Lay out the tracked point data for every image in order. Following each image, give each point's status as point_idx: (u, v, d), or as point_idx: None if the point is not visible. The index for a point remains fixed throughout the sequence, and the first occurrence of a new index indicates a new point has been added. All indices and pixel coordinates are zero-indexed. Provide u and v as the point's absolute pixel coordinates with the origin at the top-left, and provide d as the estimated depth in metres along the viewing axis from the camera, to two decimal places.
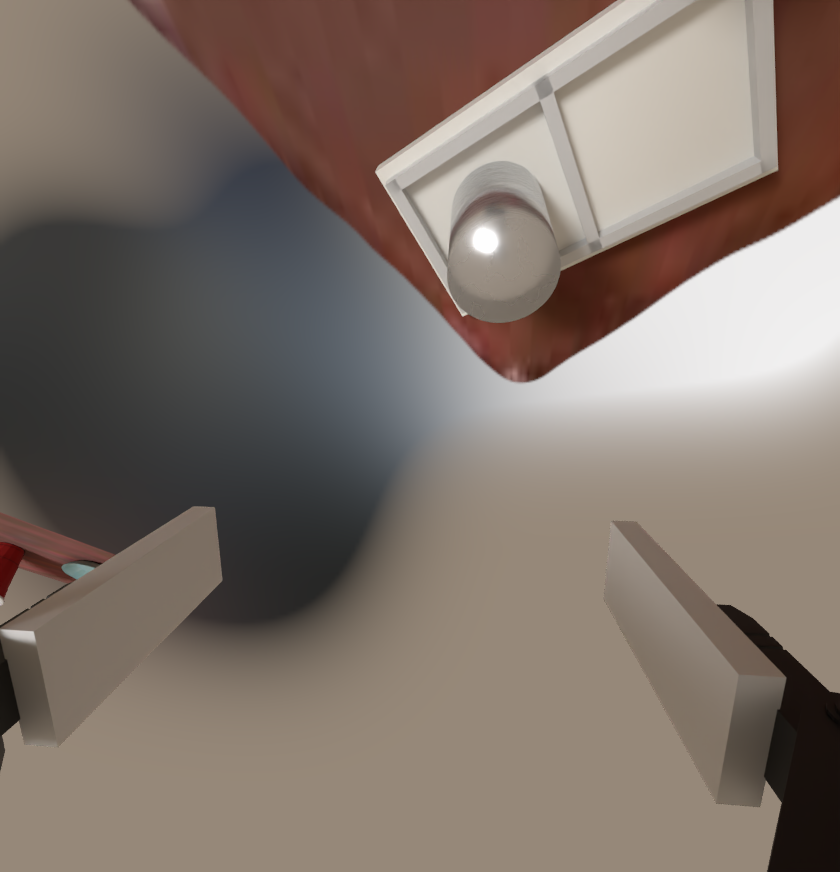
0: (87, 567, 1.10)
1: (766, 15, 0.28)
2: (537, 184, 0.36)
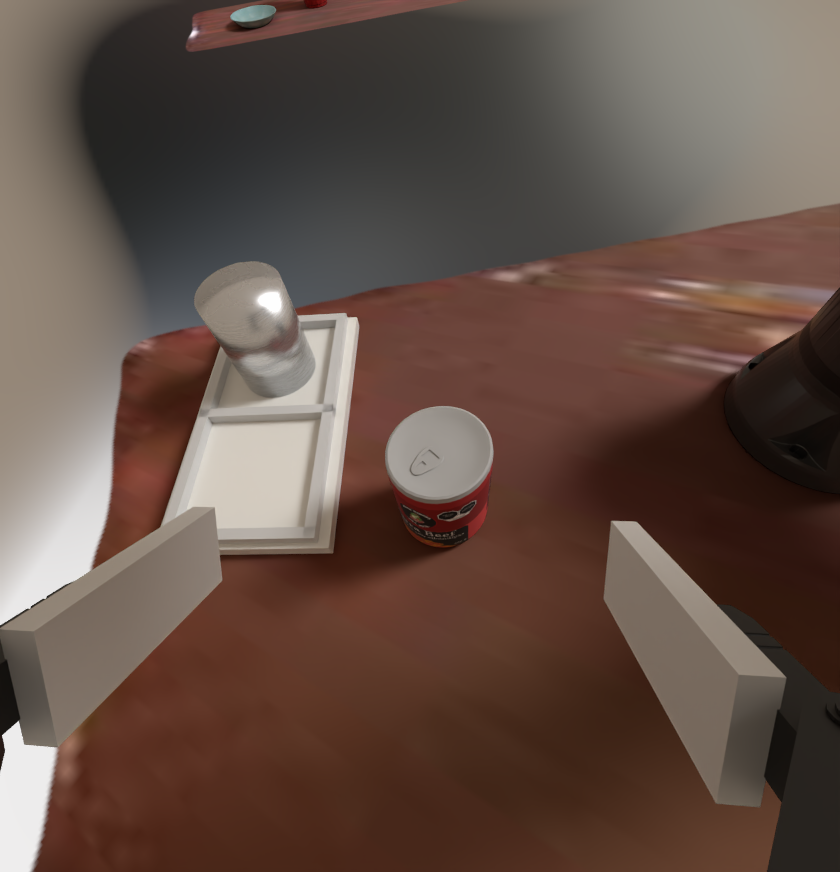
0: None
1: (269, 535, 0.38)
2: (277, 388, 0.47)
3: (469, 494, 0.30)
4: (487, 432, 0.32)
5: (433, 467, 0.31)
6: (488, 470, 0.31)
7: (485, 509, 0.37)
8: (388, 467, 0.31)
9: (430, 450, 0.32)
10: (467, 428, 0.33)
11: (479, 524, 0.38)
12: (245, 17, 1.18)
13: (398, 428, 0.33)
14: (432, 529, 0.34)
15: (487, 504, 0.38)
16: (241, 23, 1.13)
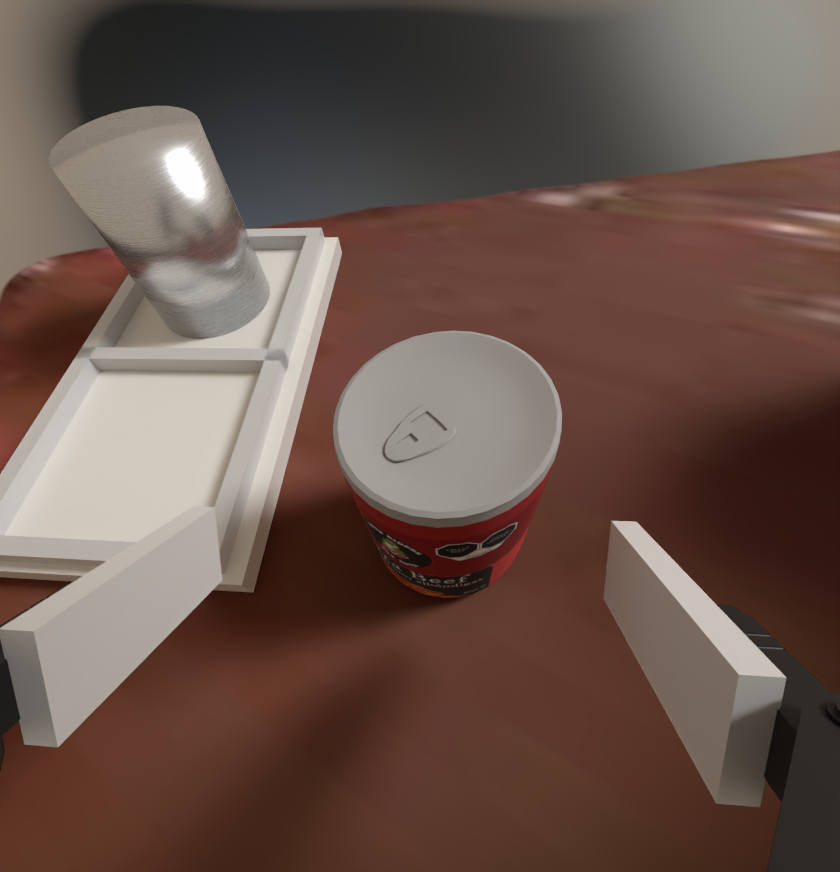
0: None
1: None
2: (202, 323, 0.30)
3: (509, 510, 0.14)
4: (550, 382, 0.15)
5: (432, 448, 0.15)
6: (551, 460, 0.14)
7: (524, 536, 0.20)
8: (337, 440, 0.15)
9: (429, 412, 0.15)
10: (508, 374, 0.16)
11: (510, 561, 0.21)
12: None
13: (367, 367, 0.16)
14: (424, 570, 0.18)
15: None
16: None
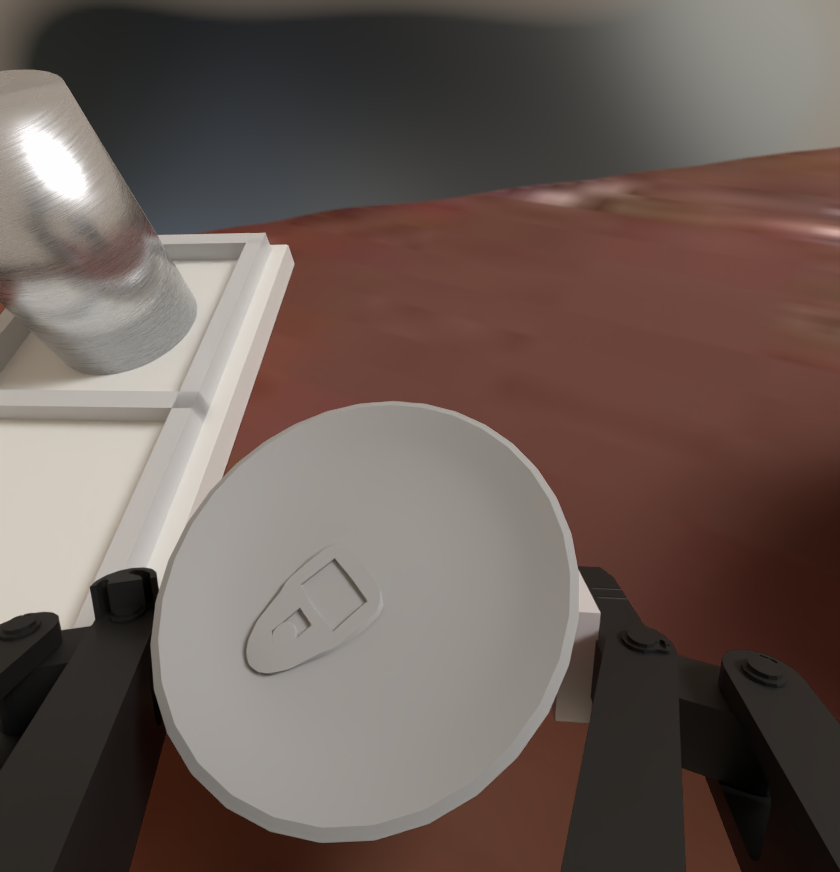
0: None
1: None
2: (98, 356, 0.23)
3: None
4: (555, 507, 0.09)
5: (337, 642, 0.08)
6: None
7: None
8: (157, 631, 0.08)
9: (338, 561, 0.09)
10: (481, 484, 0.09)
11: None
12: None
13: (239, 470, 0.09)
14: None
15: None
16: None
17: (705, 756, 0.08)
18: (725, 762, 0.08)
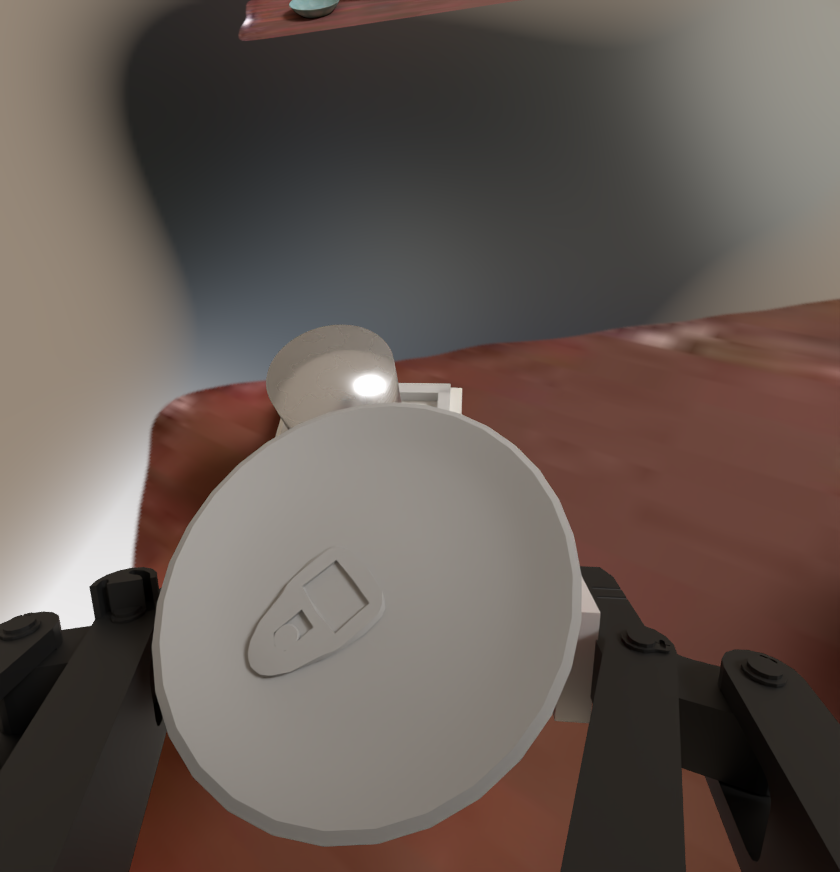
0: None
1: None
2: None
3: None
4: (557, 508, 0.09)
5: (339, 644, 0.08)
6: None
7: None
8: (158, 633, 0.08)
9: (339, 563, 0.08)
10: (483, 486, 0.09)
11: None
12: (304, 5, 1.06)
13: (241, 471, 0.09)
14: None
15: None
16: (301, 12, 1.01)
17: (705, 756, 0.08)
18: (725, 762, 0.08)
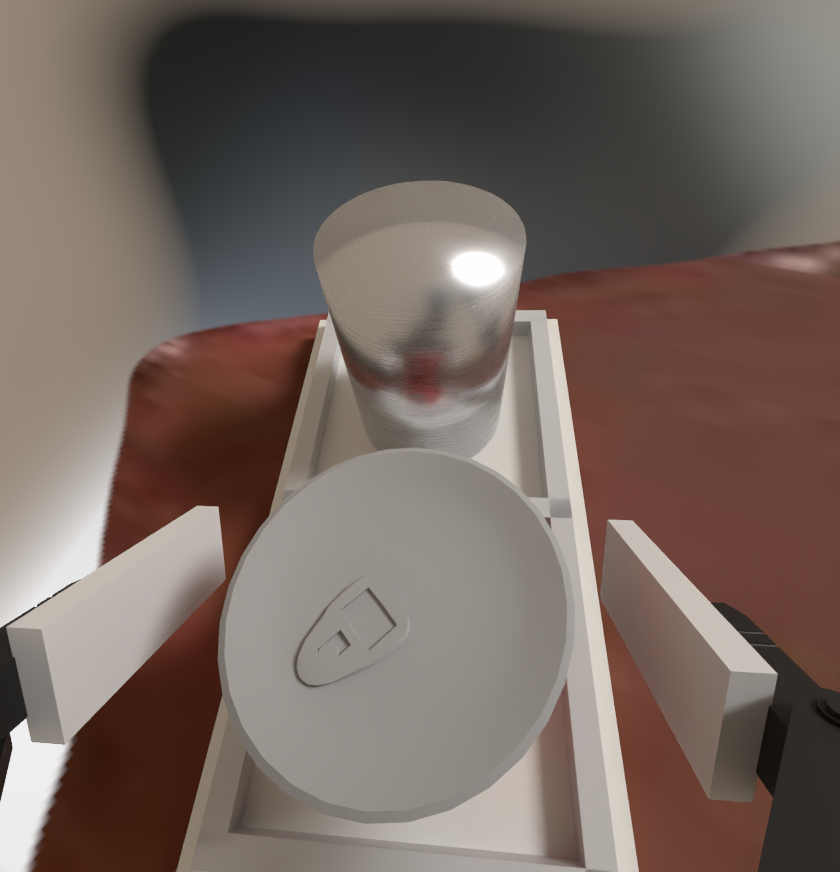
0: None
1: None
2: None
3: None
4: (555, 546, 0.10)
5: (372, 660, 0.09)
6: None
7: None
8: (222, 648, 0.09)
9: (371, 590, 0.10)
10: (492, 524, 0.11)
11: None
12: None
13: (285, 508, 0.11)
14: None
15: None
16: None
17: None
18: None
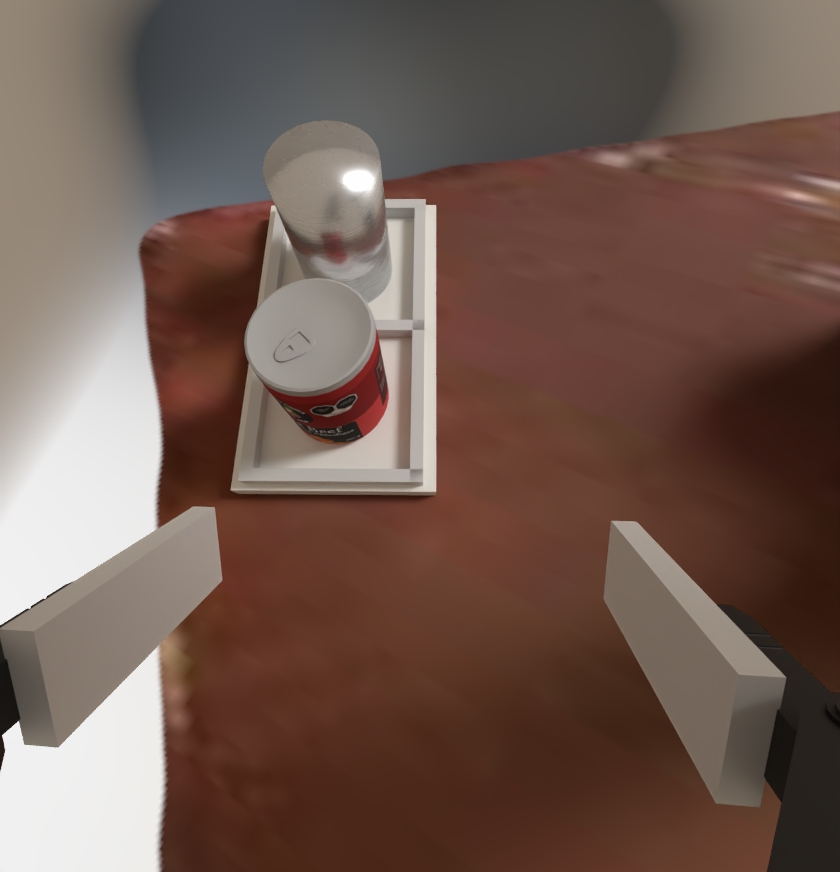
0: None
1: (370, 477, 0.34)
2: None
3: (341, 386, 0.26)
4: (369, 313, 0.27)
5: (301, 353, 0.26)
6: (366, 359, 0.26)
7: (379, 404, 0.33)
8: (246, 350, 0.26)
9: (300, 332, 0.27)
10: (348, 307, 0.27)
11: (374, 420, 0.34)
12: None
13: (263, 303, 0.27)
14: (312, 424, 0.31)
15: (383, 399, 0.34)
16: None
17: None
18: None
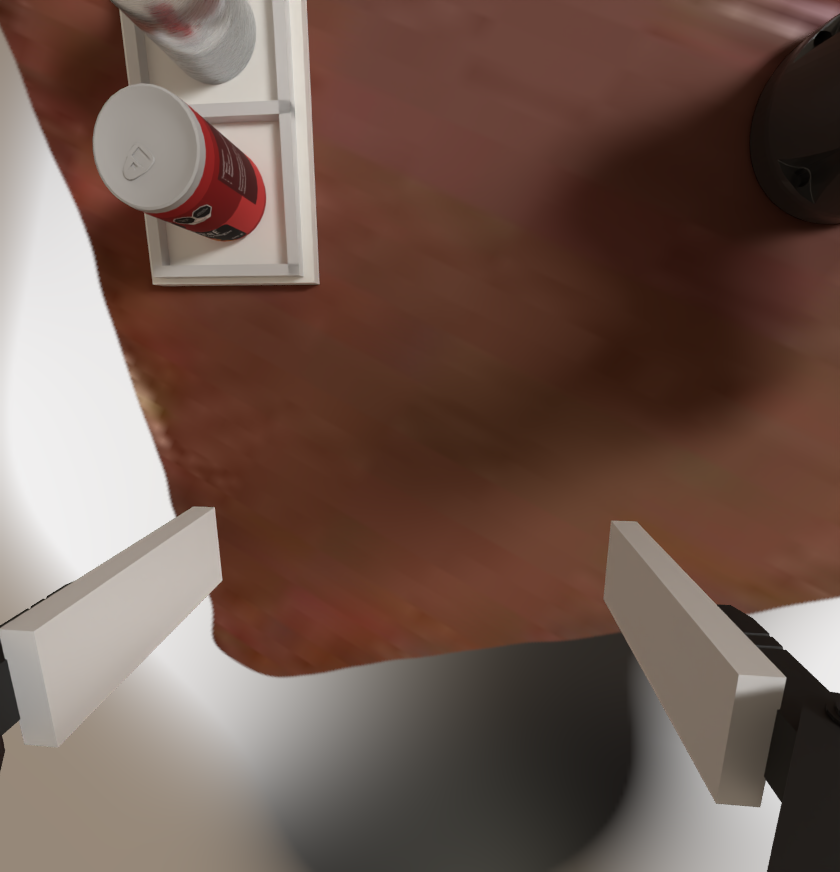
0: None
1: (256, 272, 0.41)
2: (216, 73, 0.37)
3: (185, 202, 0.31)
4: (193, 124, 0.29)
5: (145, 170, 0.31)
6: (199, 174, 0.30)
7: (248, 205, 0.37)
8: (99, 170, 0.31)
9: (139, 147, 0.30)
10: (175, 117, 0.30)
11: (251, 219, 0.39)
12: None
13: (100, 117, 0.30)
14: (189, 229, 0.36)
15: (253, 198, 0.38)
16: None
17: None
18: None
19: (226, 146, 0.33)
